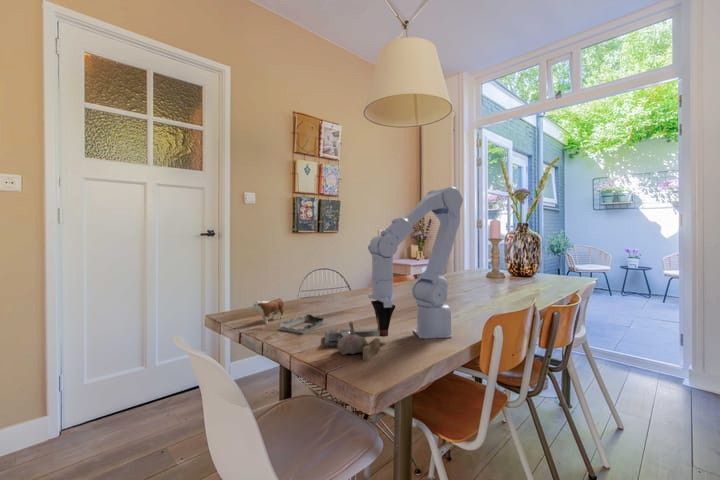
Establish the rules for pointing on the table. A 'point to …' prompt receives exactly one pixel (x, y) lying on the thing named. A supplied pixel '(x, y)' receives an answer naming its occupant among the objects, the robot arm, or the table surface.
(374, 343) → the bar
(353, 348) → the garlic bulb
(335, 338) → the lever
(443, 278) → the robot arm
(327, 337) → the base
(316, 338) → the table surface
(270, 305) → the bull figurine
